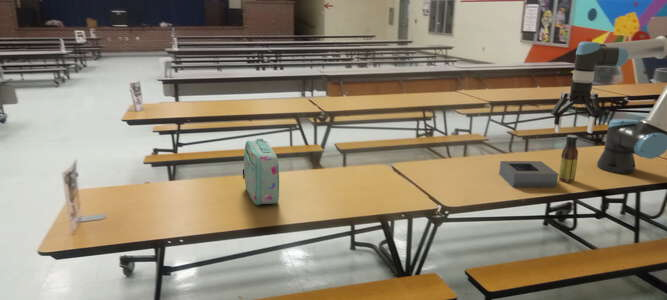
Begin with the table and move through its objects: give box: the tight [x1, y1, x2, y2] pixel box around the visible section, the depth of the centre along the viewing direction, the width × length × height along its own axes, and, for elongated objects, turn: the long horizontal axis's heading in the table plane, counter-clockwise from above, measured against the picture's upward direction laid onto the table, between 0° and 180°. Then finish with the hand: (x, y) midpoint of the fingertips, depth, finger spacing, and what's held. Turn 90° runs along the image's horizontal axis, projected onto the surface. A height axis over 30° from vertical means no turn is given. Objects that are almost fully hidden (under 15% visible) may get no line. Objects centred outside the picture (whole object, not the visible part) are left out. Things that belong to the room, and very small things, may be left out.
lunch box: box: [242, 138, 280, 206], centre depth 179 cm, size 27×10×21 cm, turn 21°
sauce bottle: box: [558, 134, 579, 183], centre depth 198 cm, size 7×6×20 cm
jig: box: [498, 160, 559, 189], centre depth 199 cm, size 18×16×6 cm
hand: (573, 132), depth 194 cm, fingers open, 13 cm apart
